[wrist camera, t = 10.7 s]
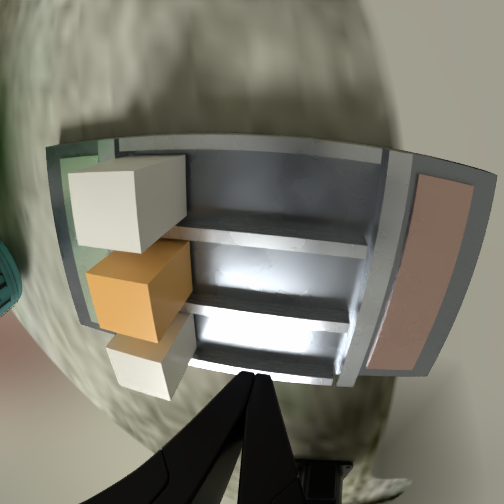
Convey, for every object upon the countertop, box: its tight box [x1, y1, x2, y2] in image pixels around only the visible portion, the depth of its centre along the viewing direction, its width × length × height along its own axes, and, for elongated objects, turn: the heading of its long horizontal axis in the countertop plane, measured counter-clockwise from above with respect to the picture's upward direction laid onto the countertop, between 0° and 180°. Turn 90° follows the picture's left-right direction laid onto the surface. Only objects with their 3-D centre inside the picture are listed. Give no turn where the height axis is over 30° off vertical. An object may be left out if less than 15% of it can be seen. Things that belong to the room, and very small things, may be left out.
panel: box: [46, 133, 497, 387], centre depth 14 cm, size 13×24×2 cm, turn 88°
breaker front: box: [68, 154, 187, 254], centre depth 11 cm, size 3×3×4 cm
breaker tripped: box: [85, 237, 193, 343], centre depth 13 cm, size 3×3×4 cm
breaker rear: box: [106, 311, 197, 401], centre depth 14 cm, size 3×3×4 cm
